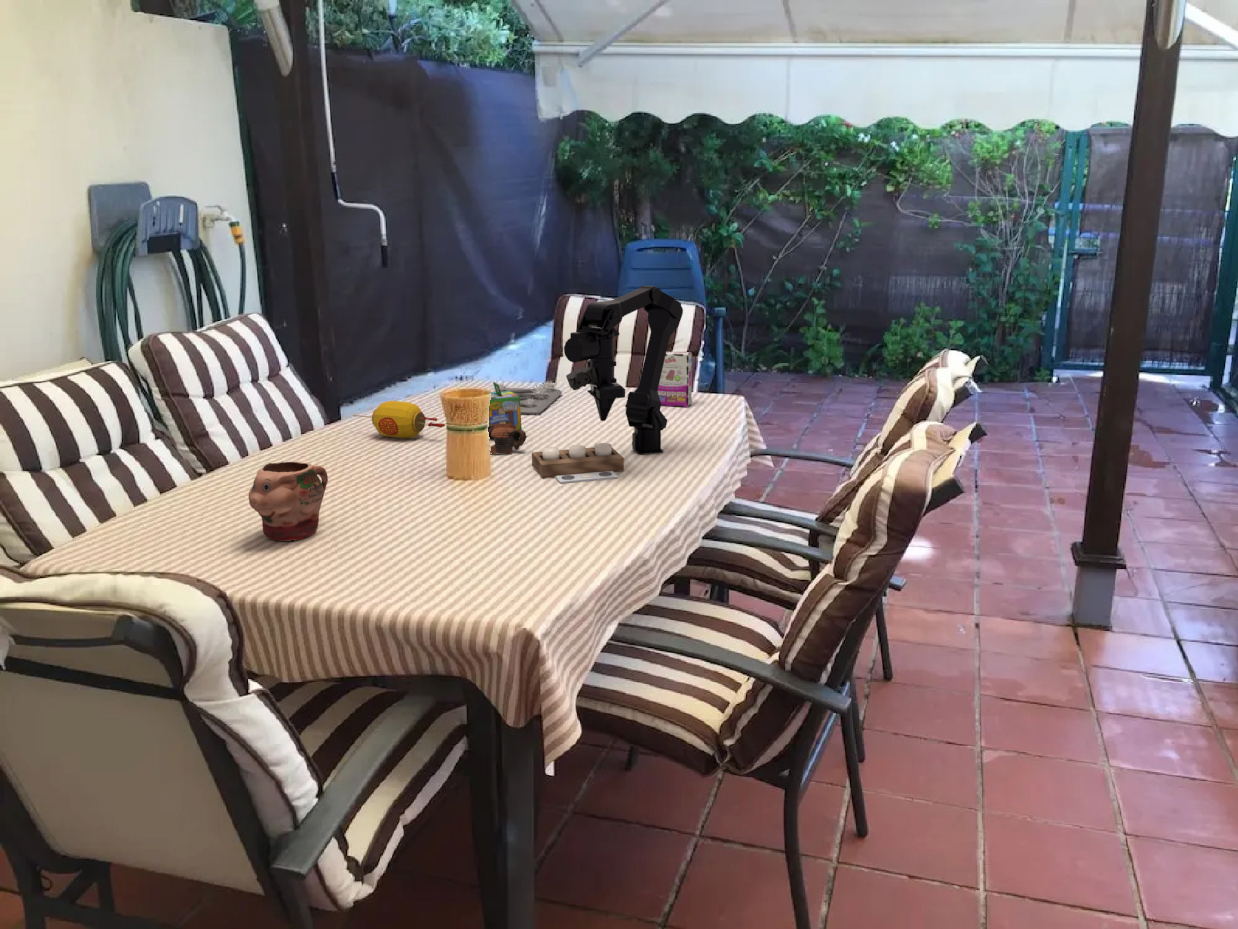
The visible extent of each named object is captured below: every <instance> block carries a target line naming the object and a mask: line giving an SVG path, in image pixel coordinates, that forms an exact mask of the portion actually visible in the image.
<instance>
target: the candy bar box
mask: <svg viewBox="0 0 1238 929" xmlns="http://www.w3.org/2000/svg"><path fill="white" fill-rule="evenodd" d="M692 357H693V356H692V351H691V352H690V351H689V352H686V351H685V352H684V351H666V356H665V360H664V365H663V369H662V373H661V378H660V382H659V387H658V395H659V398H660V401H661V407H673V408H675V407H676V408H688V407H690V406H691V405H692V402H693V401H692V398H693V397H692V392H693V391H692V388H693V387H692V386H693V385H692V382H693V381H692V375H693V374H692V370H693V368H692V364H693V363H692Z"/></svg>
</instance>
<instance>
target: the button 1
mask: <svg viewBox="0 0 1238 929" xmlns="http://www.w3.org/2000/svg"><path fill="white" fill-rule="evenodd" d="M559 450H560V448H559V447H557V446H556V447H554V446H548V447H544V448H542V451H541V452H543V461H547V460H559Z"/></svg>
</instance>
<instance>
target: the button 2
mask: <svg viewBox="0 0 1238 929" xmlns="http://www.w3.org/2000/svg"><path fill="white" fill-rule="evenodd" d="M594 447H595V456H607V455H611V447H612V444H611V443H608V442H598V443H595V444H594Z"/></svg>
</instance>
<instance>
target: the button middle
mask: <svg viewBox="0 0 1238 929" xmlns="http://www.w3.org/2000/svg"><path fill="white" fill-rule="evenodd" d="M585 448H586V446H585V445H581V444H576V445H575V444H573V445H570V446H568V449H569V458H570V459H571V458H583V457H586V450H585Z"/></svg>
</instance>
